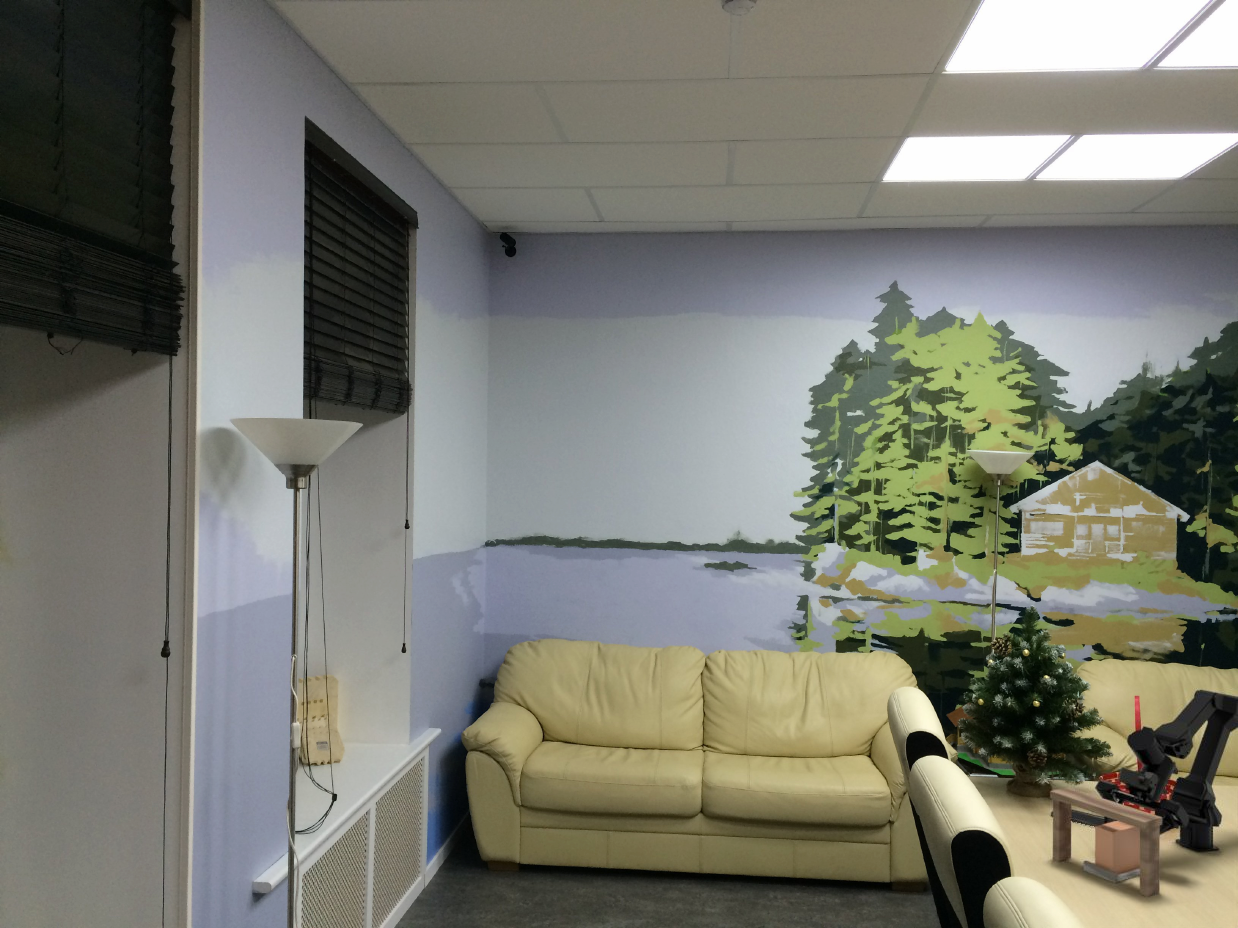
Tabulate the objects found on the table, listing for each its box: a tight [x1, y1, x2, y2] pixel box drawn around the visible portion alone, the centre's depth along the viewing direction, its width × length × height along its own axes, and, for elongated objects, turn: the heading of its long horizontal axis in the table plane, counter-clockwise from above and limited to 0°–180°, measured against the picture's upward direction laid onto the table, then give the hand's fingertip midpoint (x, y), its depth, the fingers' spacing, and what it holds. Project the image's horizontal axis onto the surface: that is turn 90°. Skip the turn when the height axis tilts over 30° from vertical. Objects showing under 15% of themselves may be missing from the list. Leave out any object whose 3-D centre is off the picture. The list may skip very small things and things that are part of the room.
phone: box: [1050, 808, 1114, 828], centre depth 229 cm, size 8×1×15 cm
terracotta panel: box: [1094, 821, 1140, 875], centre depth 198 cm, size 12×4×10 cm, turn 119°
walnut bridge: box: [1049, 786, 1162, 898], centre depth 197 cm, size 14×22×16 cm, turn 29°
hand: (1125, 833), depth 199 cm, fingers open, 9 cm apart
